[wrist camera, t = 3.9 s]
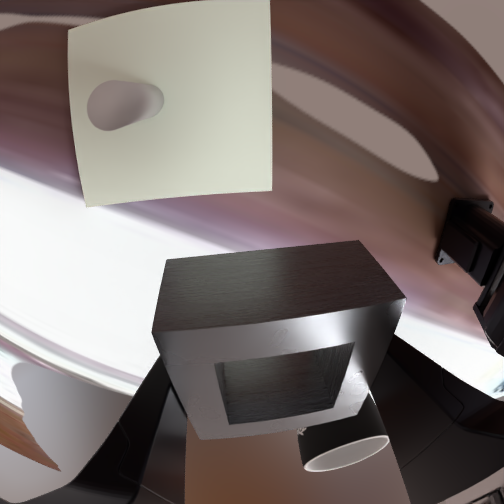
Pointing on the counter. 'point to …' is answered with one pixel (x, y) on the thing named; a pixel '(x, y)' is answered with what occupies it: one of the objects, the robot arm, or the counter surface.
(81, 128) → the peg board
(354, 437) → the mug
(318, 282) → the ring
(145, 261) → the counter surface
